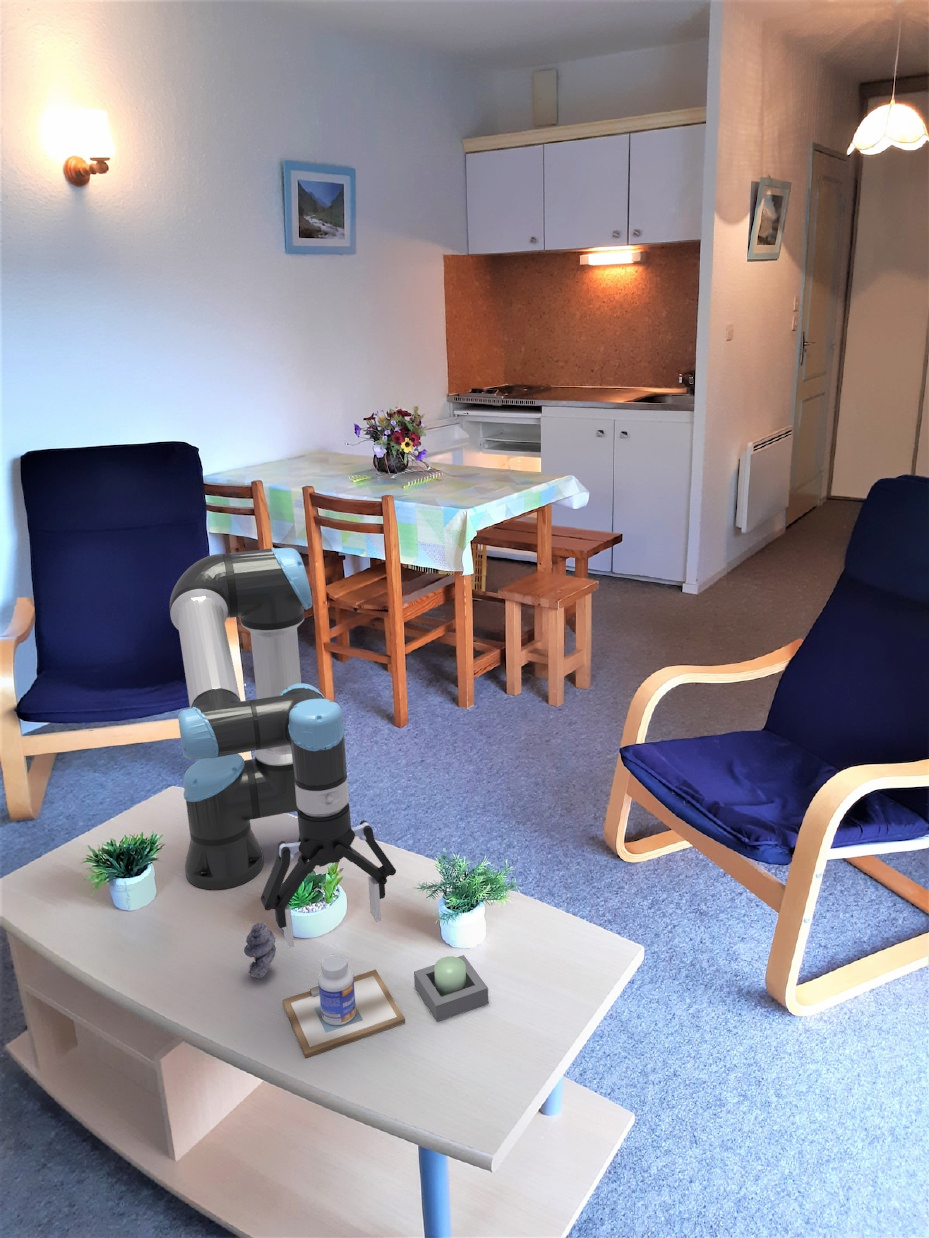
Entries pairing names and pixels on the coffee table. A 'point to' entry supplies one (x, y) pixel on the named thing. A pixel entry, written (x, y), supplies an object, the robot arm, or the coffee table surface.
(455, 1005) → the button housing
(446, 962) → the button
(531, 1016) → the coffee table surface
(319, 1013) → the clipboard
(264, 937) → the seashell
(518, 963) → the coffee table surface
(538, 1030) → the coffee table surface
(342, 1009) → the pill bottle
